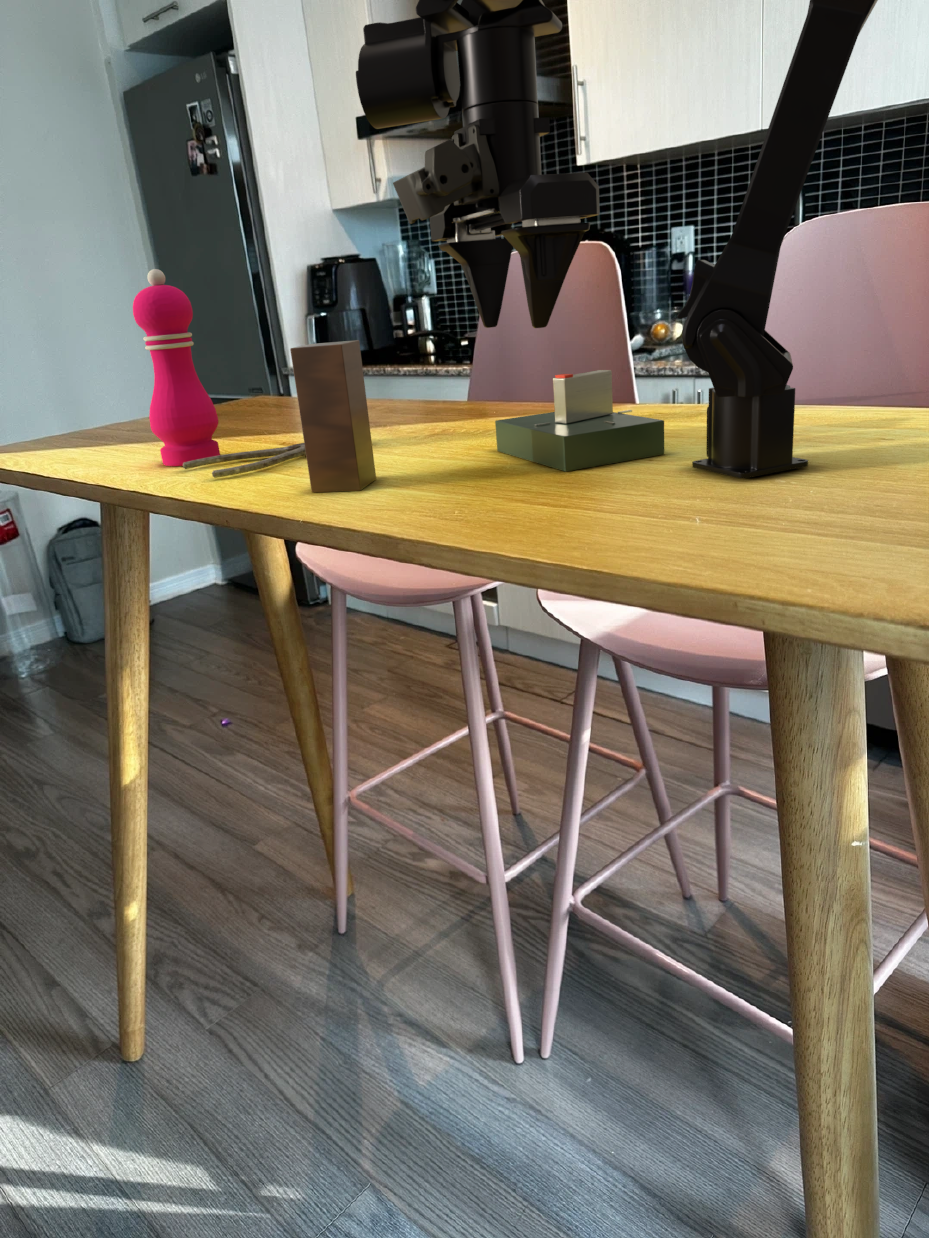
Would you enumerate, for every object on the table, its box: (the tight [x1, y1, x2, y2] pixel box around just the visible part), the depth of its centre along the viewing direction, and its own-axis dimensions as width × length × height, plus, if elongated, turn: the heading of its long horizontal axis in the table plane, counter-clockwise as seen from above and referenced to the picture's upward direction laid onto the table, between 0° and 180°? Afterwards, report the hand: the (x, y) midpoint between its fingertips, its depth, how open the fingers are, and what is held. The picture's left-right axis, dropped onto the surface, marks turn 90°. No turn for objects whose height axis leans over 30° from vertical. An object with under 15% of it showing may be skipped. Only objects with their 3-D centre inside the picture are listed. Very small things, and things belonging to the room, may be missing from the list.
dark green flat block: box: [494, 409, 665, 472], centre depth 83 cm, size 14×11×3 cm
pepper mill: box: [132, 268, 221, 467], centre depth 95 cm, size 7×7×20 cm
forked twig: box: [182, 442, 306, 479], centre depth 95 cm, size 10×1×20 cm
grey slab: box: [552, 369, 614, 424], centre depth 81 cm, size 6×2×4 cm, turn 127°
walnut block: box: [289, 339, 377, 493], centre depth 76 cm, size 4×4×12 cm
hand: (513, 327), depth 72 cm, fingers open, 9 cm apart
